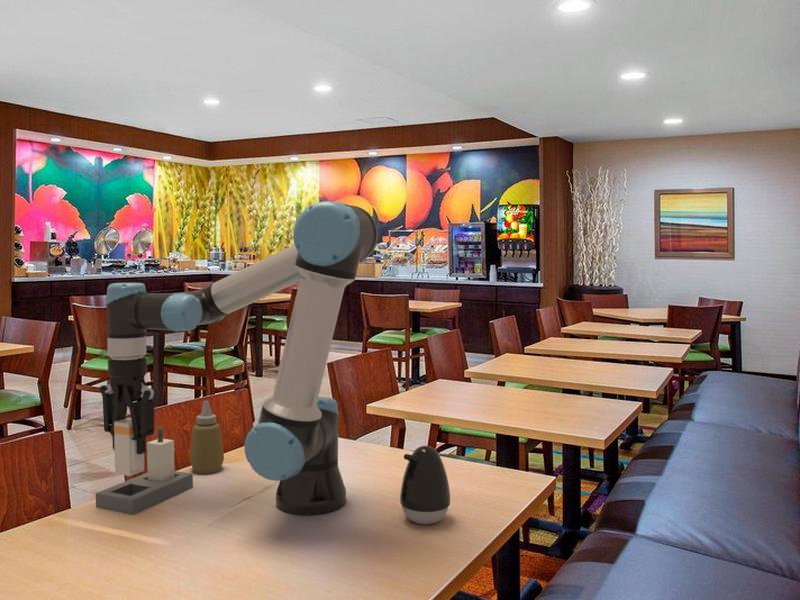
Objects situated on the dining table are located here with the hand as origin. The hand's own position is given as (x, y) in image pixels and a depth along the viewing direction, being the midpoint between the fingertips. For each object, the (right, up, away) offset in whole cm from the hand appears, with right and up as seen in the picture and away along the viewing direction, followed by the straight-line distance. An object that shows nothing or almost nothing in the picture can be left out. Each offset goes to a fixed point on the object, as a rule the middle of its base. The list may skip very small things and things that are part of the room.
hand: (129, 466), depth 142 cm
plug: (0, -1, 0) cm, 1 cm away
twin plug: (+4, -7, +9) cm, 12 cm away
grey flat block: (+2, -9, +5) cm, 10 cm away
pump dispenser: (+62, -10, -5) cm, 63 cm away
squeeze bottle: (+10, -8, +23) cm, 26 cm away
